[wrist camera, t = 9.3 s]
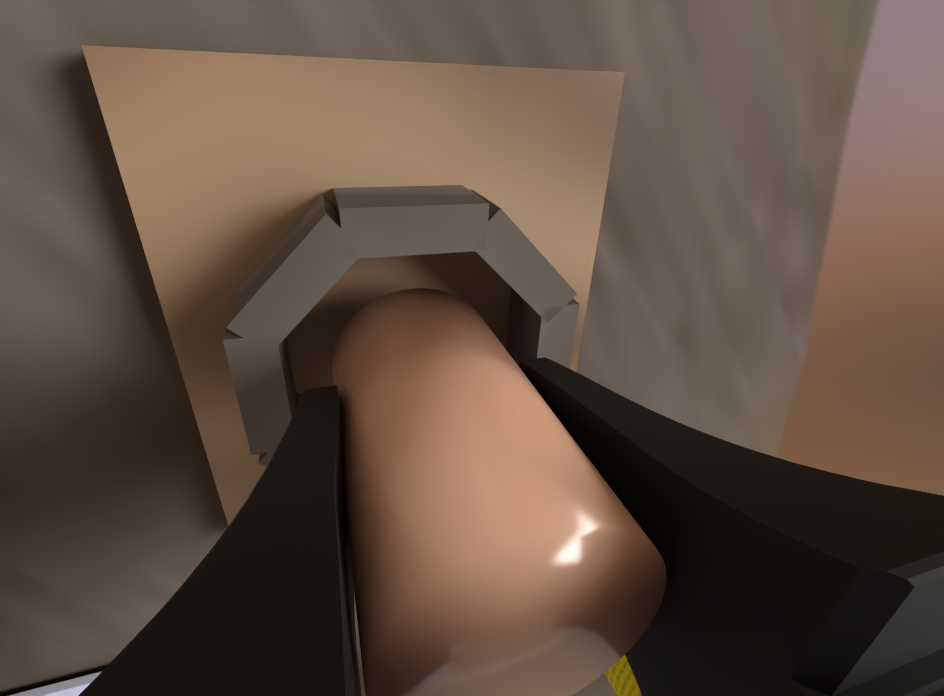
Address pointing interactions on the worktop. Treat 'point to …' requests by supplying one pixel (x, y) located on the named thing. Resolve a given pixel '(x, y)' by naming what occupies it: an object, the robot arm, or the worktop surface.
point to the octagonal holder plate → (348, 212)
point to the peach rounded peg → (476, 516)
